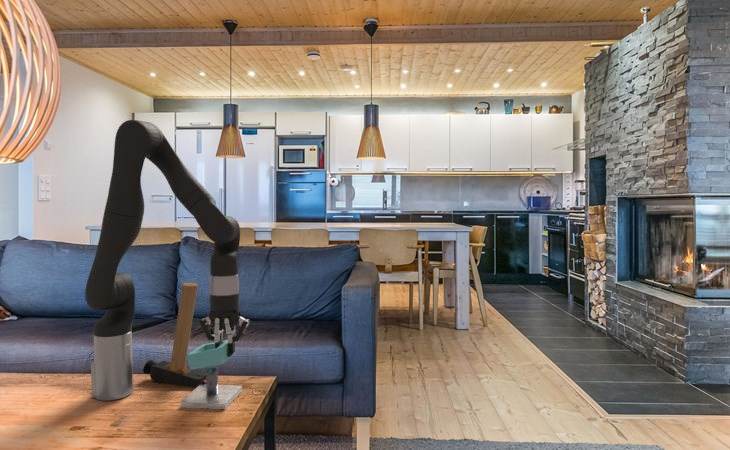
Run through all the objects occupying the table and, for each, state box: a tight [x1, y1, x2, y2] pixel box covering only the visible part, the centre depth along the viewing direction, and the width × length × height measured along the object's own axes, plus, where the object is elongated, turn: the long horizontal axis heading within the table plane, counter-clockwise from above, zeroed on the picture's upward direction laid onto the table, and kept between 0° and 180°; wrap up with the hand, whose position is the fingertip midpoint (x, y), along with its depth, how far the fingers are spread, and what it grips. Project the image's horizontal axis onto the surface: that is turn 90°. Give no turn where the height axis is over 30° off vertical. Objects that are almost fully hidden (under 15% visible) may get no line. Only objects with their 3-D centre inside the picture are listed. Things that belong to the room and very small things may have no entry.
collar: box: [187, 339, 237, 370], centre depth 129 cm, size 9×9×4 cm
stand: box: [179, 365, 243, 411], centre depth 129 cm, size 12×12×8 cm
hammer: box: [142, 282, 206, 388], centre depth 140 cm, size 20×5×30 cm, turn 76°
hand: (225, 355), depth 128 cm, fingers closed on collar, 2 cm apart
